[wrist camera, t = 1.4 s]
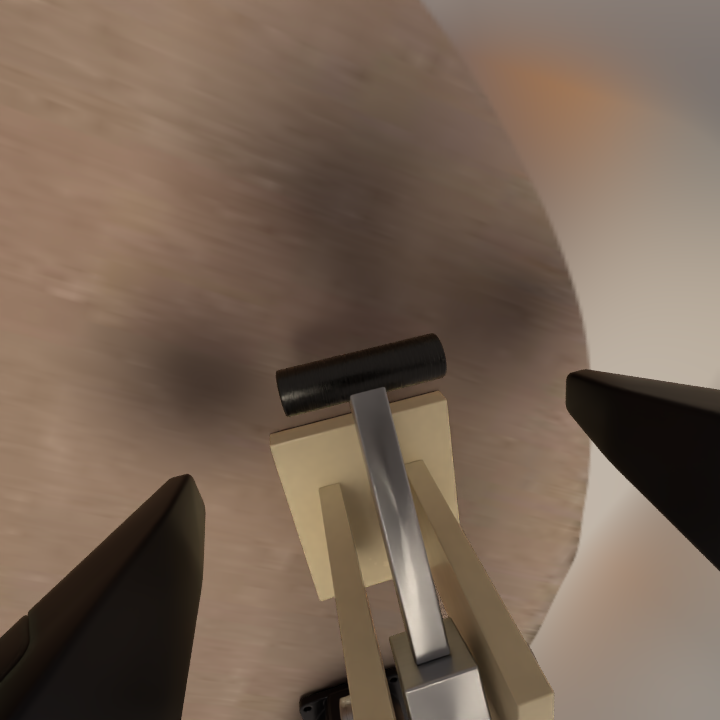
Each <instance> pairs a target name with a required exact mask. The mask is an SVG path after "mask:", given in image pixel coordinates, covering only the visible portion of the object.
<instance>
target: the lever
mask: <svg viewBox="0 0 720 720" xmlns="http://www.w3.org/2000/svg"><path fill="white" fill-rule="evenodd" d="M446 370H447V365H446V357H445V353H444V350H443V347H442V344H441V342H440V340H439V338H438V337H437V336H436V335H435V334H433V333H430V334H426V335H422V336H418V337H414V338H410V339H405V340H401V341H397V342H393V343H389V344H385V345H381V346H377V347H372V348H368V349H364V350H360V351H356V352H352V353H348V354H344V355H339V356H335V357H331V358H327V359H323V360H319V361H315V362H310V363H306V364H302V365H298V366H294V367H290V368H286V369H282V370H278V371H276V381H277V387H278V391H279V396H280V400H281V403H282V406H283V410H284V412H285V414H286V416H287V417H291V416H295V415H299V414H302V413H306V412H310V411H314V410H318V409H322V408H326V407H330V406H334V405H338V404H342V403H345V402H349V403H350V407H351V411H352V415H353V419H354V423H355V428H356V432H357V436H358V440H359V444H360V448H361V452H362V456H363V460H364V464H365V468H366V472H367V476H368V480H369V484H370V488H371V493H372V497H373V501H374V505H375V509H376V513H377V517H378V521H379V525H380V529H381V533H382V537H383V541H384V545H385V549H386V553H387V558H388V562H389V566H390V570H391V574H392V578H393V582H394V586H395V590H396V594H397V598H398V602H399V606H400V610H401V614H402V618H403V623H404V627H405V631H406V632H402V633H399V634H396V635H393V636H391V637H390V638H389V641H390V645H391V649H392V653H393V657H394V662H395V666H396V670H397V674H398V678H399V682H400V686H401V690H402V694H403V698H404V702H405V706H406V711H407V715H408V719H409V720H492V718H491V714H490V710H489V706H488V702H487V698H486V694H485V690H484V686H483V682H482V678H481V674H480V670H479V666H478V665H477V663H476V661H475V659H474V657H473V656H472V654H471V652H470V650H469V648H468V647H467V645H466V643H465V641H464V639H463V638H462V636H461V634H460V632H459V630H458V629H457V627H456V625H455V623H454V621H453V620H452V618H451V617H448V618H445V619H443V618H442V614H441V610H440V606H439V602H438V598H437V594H436V590H435V586H434V582H433V578H432V574H431V570H430V566H429V562H428V558H427V554H426V550H425V546H424V541H423V537H422V533H421V529H420V525H419V521H418V517H417V513H416V509H415V505H414V501H413V497H412V493H411V489H410V485H409V481H408V477H407V473H406V469H405V465H404V461H403V457H402V453H401V449H400V445H399V441H398V437H397V433H396V429H395V425H394V421H393V417H392V413H391V409H390V405H389V401H388V397H387V393H386V392H388V391H392V390H396V389H400V388H404V387H408V386H412V385H416V384H420V383H424V382H428V381H431V380H435V379H439V378H443V377H444V376H445V375H446Z"/></svg>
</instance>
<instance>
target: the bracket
mask: <svg viewBox="0 0 720 720" xmlns="http://www.w3.org/2000/svg"><path fill="white" fill-rule="evenodd" d="M389 405H390V409H391V413H392V417H393V421H394V425H395V429H396V433H397V437H398V441H399V445H400V449H401V453H402V457H403V461H404V465H405V469H406V473H407V477H408V481H409V485H410V489H411V493H412V497H413V501H414V505H415V509H416V513H417V517H418V521H419V525H420V529H421V533H422V537H423V541H424V546H425V550H426V554H427V558H428V562H429V566H430V570H431V574H432V578H433V581H434V583H435V586H436V588H437V590H438V593H439V595H440V598H441V600H442V602H443V605H444V607H445V610H446V612H447V614H448V617H451V618H452V620H453V621H454V623H455V625H456V627H457V629H458V630H459V632H460V634H461V636H462V638H463V639H464V641H465V643H466V645H467V647H468V648H469V650H470V652H471V654H472V656H473V657H474V659H475V661H476V663H477V665H478V666H479V670H480V674H481V678H482V682H483V686H484V690H485V694H486V698H487V702H488V706H489V710H490V714H491V718H492V720H554V691H553V689H552V688H551V686H550V684H549V683H548V681H547V679H546V677H545V675H544V673H543V672H542V670H541V668H540V667H539V665H538V662H537V660H536V658H535V656H534V654H533V652H532V650H531V649H530V647H529V646H528V644H527V643H526V641H525V640H524V638H523V636H522V635H521V633H520V631H519V629H518V628H517V626H516V624H515V622H514V620H513V619H512V617H511V615H510V613H509V612H508V610H507V608H506V606H505V605H504V603H503V601H502V599H501V597H500V596H499V594H498V592H497V590H496V589H495V587H494V585H493V583H492V582H491V580H490V578H489V576H488V575H487V573H486V571H485V569H484V567H483V566H482V564H481V562H480V560H479V559H478V557H477V555H476V553H475V552H474V550H473V548H472V546H471V544H470V543H469V541H468V539H467V537H466V536H465V534H464V532H463V530H462V529H461V527H460V523H459V513H458V503H457V494H456V484H455V474H454V464H453V454H452V445H451V435H450V425H449V415H448V406H447V400H446V398H445V397H444V396H443V395H442V394H441V392H440V391H435V392H431V393H428V394H424V395H420V396H416V397H412V398H408V399H404V400H401V401H397V402H393V403H389ZM270 449H271V453H272V456H273V459H274V462H275V465H276V468H277V471H278V474H279V477H280V480H281V483H282V486H283V489H284V493H285V496H286V499H287V502H288V505H289V508H290V511H291V514H292V517H293V520H294V523H295V526H296V530H297V533H298V536H299V539H300V542H301V545H302V548H303V551H304V554H305V557H306V560H307V563H308V566H309V570H310V573H311V576H312V579H313V582H314V585H315V588H316V591H317V594H318V597H319V600H320V601H324V600H327V599H330V598H333V597H335V601H336V608H337V614H338V621H339V627H340V634H341V640H342V647H343V653H344V660H345V667H346V673H347V680H348V686H349V693H350V695H349V696H346V697H343V698H341V699H340V716H341V720H396V717H395V712H394V708H393V704H392V699H391V695H390V691H389V687H388V682H387V678H386V674H385V669H384V665H383V661H382V657H381V652H380V648H379V644H378V640H377V635H376V631H375V627H374V622H373V618H372V614H371V610H370V605H369V601H368V597H367V593H366V587H369V586H372V585H375V584H379V583H382V582H385V581H388V580H391V579H393V578H392V574H391V570H390V566H389V562H388V558H387V553H386V549H385V545H384V541H383V537H382V533H381V529H380V525H379V521H378V517H377V513H376V509H375V505H374V501H373V497H372V493H371V488H370V484H369V480H368V476H367V472H366V468H365V464H364V460H363V456H362V452H361V448H360V444H359V440H358V436H357V432H356V428H355V423H354V419H353V415H352V413H350V414H347V415H343V416H339V417H335V418H331V419H327V420H323V421H320V422H316V423H312V424H308V425H304V426H300V427H296V428H293V429H289V430H285V431H281V432H277V433H273V434H270Z"/></svg>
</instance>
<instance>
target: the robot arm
mask: <svg viewBox="0 0 720 720" xmlns="http://www.w3.org/2000/svg"><path fill="white" fill-rule="evenodd" d="M566 407H567V410H568V412H569V413H570V415H571V416H572V417H573V418H574V420H575V421H576V422H577V423H578V424H579V426H580V427H581V428H582V429H583V430H584V432H585V433H586V434H587V435H588V436H589V438H590V439H591V440H592V441H593V443H594V444H595V445H596V446H597V447H598V449H599V450H600V451H601V452H602V453H603V454H604V455H605V457H606V458H607V459H608V460H609V461H610V462H611V463H612V464H613V465H614V466H615V468H616V469H617V470H618V471H620V473H622V475H624V476H625V477H626V478H627V479H628V480H629V481H630V482H631V483H632V484H633V485H634V486H635V487H636V488H637V489H638V490H639V491H640V492H641V493H642V494H643V495H644V496H645V497H646V498H647V499H648V500H649V501H650V502H651V503H652V504H653V505H654V506H655V507H656V508H657V509H658V510H659V511H660V512H661V513H662V514H663V515H664V516H665V517H666V518H667V519H668V520H669V521H670V522H671V523H672V524H673V525H674V526H675V527H676V528H677V529H678V530H679V531H680V532H681V533H682V534H683V535H684V536H685V537H686V538H687V539H688V540H689V541H690V542H691V543H692V544H693V545H694V546H695V547H696V548H697V549H698V550H699V551H700V552H701V553H702V554H703V555H704V556H705V557H706V558H707V559H708V560H709V561H710V562H711V563H712V564H713V565H714V566H715V567H716V568H717V569H718V570H719V571H720V390H717V389H711V388H704V387H698V386H691V385H685V384H678V383H672V382H665V381H659V380H652V379H646V378H639V377H633V376H626V375H620V374H613V373H607V372H600V371H594V370H587V369H585V370H580V371H576V372H572V373H570V374H569V375H568V376H567V379H566ZM204 538H205V505H204V502H203V500H202V497H201V495H200V493H199V490H198V488H197V486H196V483H195V481H194V479H193V477H192V476H191V475H189V474H185V475H181V476H177V477H173V478H171V479H169V480H168V481H167V482H166V483H165V484H164V485H163V486H162V487H160V488H159V489H158V490H157V491H156V492H155V493H154V494H153V495H152V496H151V497H150V498H149V499H148V500H147V501H146V502H145V503H143V504H142V505H141V506H140V507H139V508H138V509H137V510H136V511H135V512H134V513H133V514H132V515H131V516H130V517H129V518H127V519H126V520H125V521H124V522H123V523H122V524H121V525H120V526H119V527H118V528H117V529H116V530H115V531H114V532H113V533H111V534H110V535H109V536H108V537H107V538H106V539H105V540H104V541H103V542H102V543H101V544H100V545H99V546H98V547H97V548H96V549H94V550H93V551H92V552H91V553H90V554H89V555H88V556H87V557H86V558H85V559H84V560H83V561H82V562H81V563H80V564H78V565H77V566H76V567H75V568H74V569H73V570H72V571H71V572H70V573H69V574H68V575H67V576H66V577H65V578H64V579H63V580H61V581H60V582H59V583H58V584H57V585H56V586H55V587H54V588H53V589H52V590H51V591H50V592H49V593H48V594H47V595H45V596H44V597H43V598H42V599H41V600H40V601H39V602H38V603H37V604H36V605H35V606H34V607H33V608H32V609H31V610H30V611H29V612H28V616H27V615H25V616H23V617H22V618H21V619H20V620H19V621H18V622H17V623H16V624H14V625H13V626H12V627H11V628H10V629H9V630H8V631H7V632H6V633H5V634H4V635H3V636H2V637H1V638H0V720H181V716H182V710H183V703H184V697H185V691H186V684H187V678H188V671H189V665H190V659H191V652H192V646H193V639H194V633H195V627H196V620H197V614H198V607H199V601H200V595H201V588H202V580H203V564H204ZM385 674H386V678H387V682H388V687H389V691H390V695H391V699H392V704H393V708H394V712H395V717H396V720H409V719H408V715H407V711H406V706H405V702H404V698H403V694H402V690H401V686H400V682H399V678H398V674H397V670H396V668H391V669H388V670H385ZM349 695H350V693H349V686H348V683H346V684H343V685H340V686H337V687H334V688H331V689H328V690H325V691H322V692H319V693H316V694H313V695H310V696H307V697H305V698H303V699H301V700H300V702H299V707H300V713H301V716H302V718H303V720H341V716H340V699H341V698H343V697H346V696H349Z"/></svg>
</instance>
